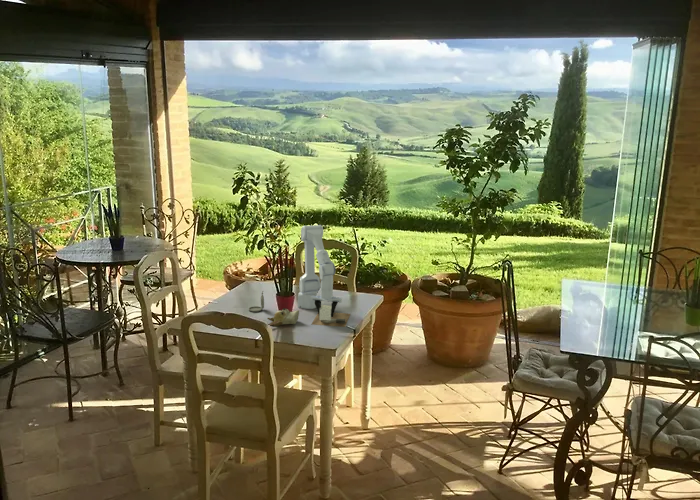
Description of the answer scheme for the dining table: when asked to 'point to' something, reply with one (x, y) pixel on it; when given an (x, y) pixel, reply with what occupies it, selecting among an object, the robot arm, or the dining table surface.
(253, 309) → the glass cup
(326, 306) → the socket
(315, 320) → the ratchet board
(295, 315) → the ceramic sculpture
